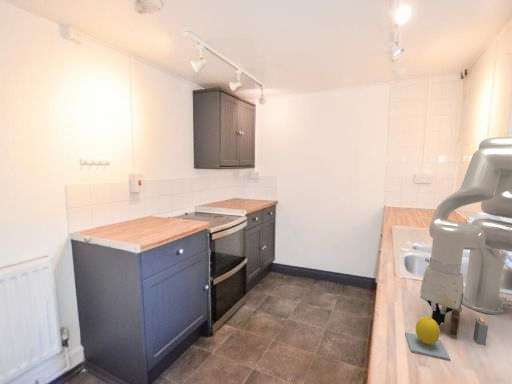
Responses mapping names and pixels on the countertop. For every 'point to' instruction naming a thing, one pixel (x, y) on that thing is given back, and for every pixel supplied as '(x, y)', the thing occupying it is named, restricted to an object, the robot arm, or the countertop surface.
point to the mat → (426, 347)
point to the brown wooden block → (454, 323)
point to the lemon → (427, 330)
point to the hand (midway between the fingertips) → (437, 322)
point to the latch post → (480, 332)
